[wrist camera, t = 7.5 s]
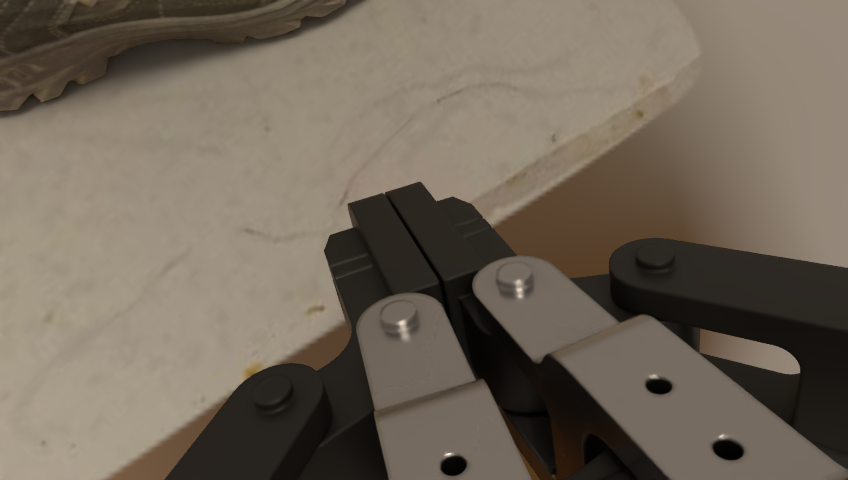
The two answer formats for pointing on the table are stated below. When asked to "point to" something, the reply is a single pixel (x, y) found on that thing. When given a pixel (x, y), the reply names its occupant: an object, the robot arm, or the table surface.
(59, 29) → the hiking shoe
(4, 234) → the table surface
